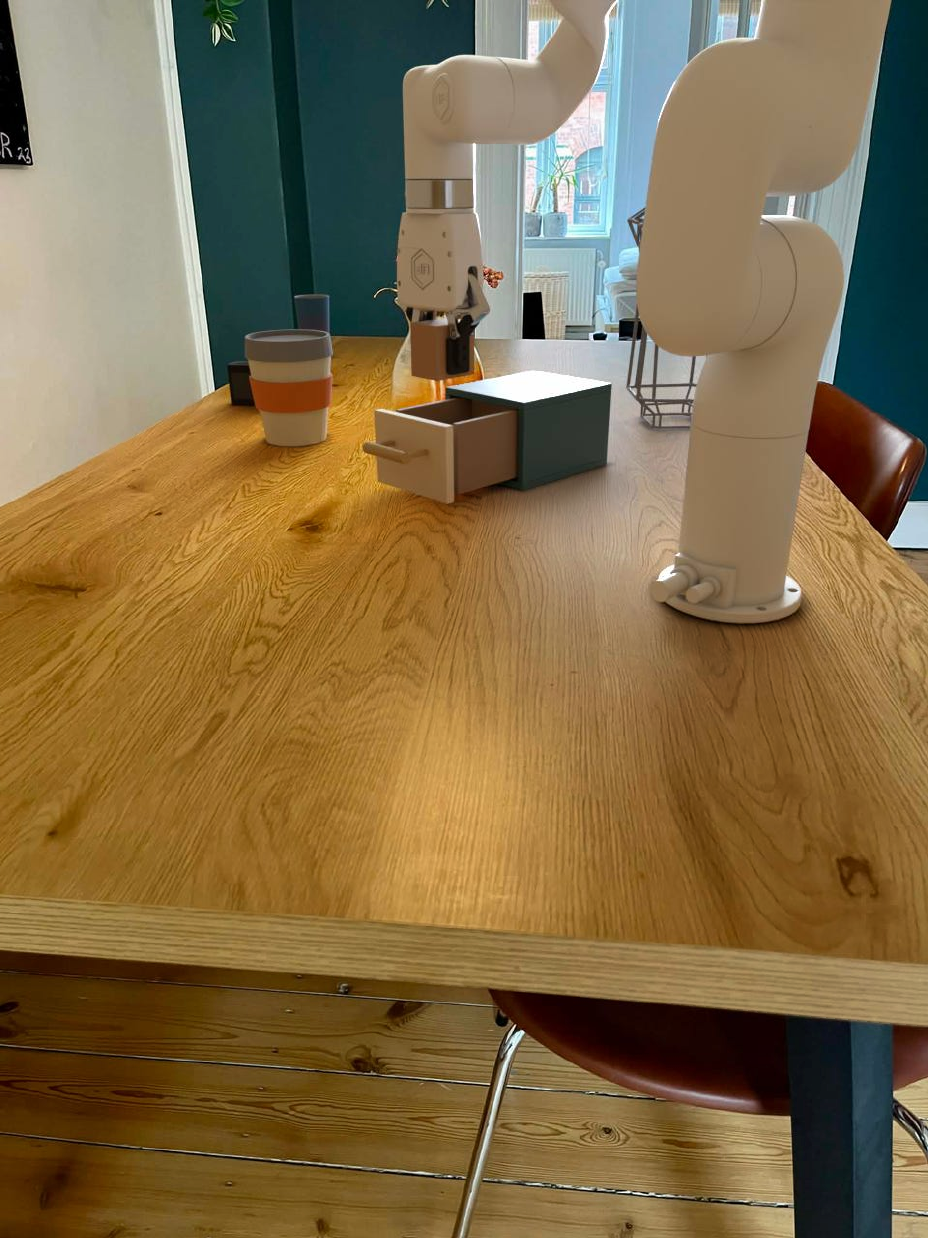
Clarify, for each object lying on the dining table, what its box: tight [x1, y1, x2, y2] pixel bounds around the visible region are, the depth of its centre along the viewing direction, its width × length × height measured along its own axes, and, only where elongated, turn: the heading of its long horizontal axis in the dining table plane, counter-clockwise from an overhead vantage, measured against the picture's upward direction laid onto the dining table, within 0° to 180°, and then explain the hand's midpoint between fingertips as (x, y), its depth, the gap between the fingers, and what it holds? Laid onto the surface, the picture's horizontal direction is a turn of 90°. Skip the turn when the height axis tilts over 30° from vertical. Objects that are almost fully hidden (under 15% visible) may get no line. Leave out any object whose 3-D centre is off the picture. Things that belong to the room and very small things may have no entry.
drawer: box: [362, 397, 519, 505], centre depth 111 cm, size 20×13×9 cm, turn 134°
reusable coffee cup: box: [244, 329, 334, 447], centre depth 134 cm, size 13×13×15 cm
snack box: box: [409, 317, 475, 382], centre depth 106 cm, size 4×6×6 cm
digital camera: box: [226, 360, 256, 407], centre depth 158 cm, size 10×5×7 cm, turn 80°
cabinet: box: [444, 369, 613, 491], centre depth 120 cm, size 17×14×11 cm
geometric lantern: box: [625, 207, 707, 430], centre depth 138 cm, size 16×16×35 cm
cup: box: [293, 294, 330, 334], centre depth 183 cm, size 7×7×15 cm
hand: (442, 368), depth 107 cm, fingers closed on snack box, 4 cm apart
